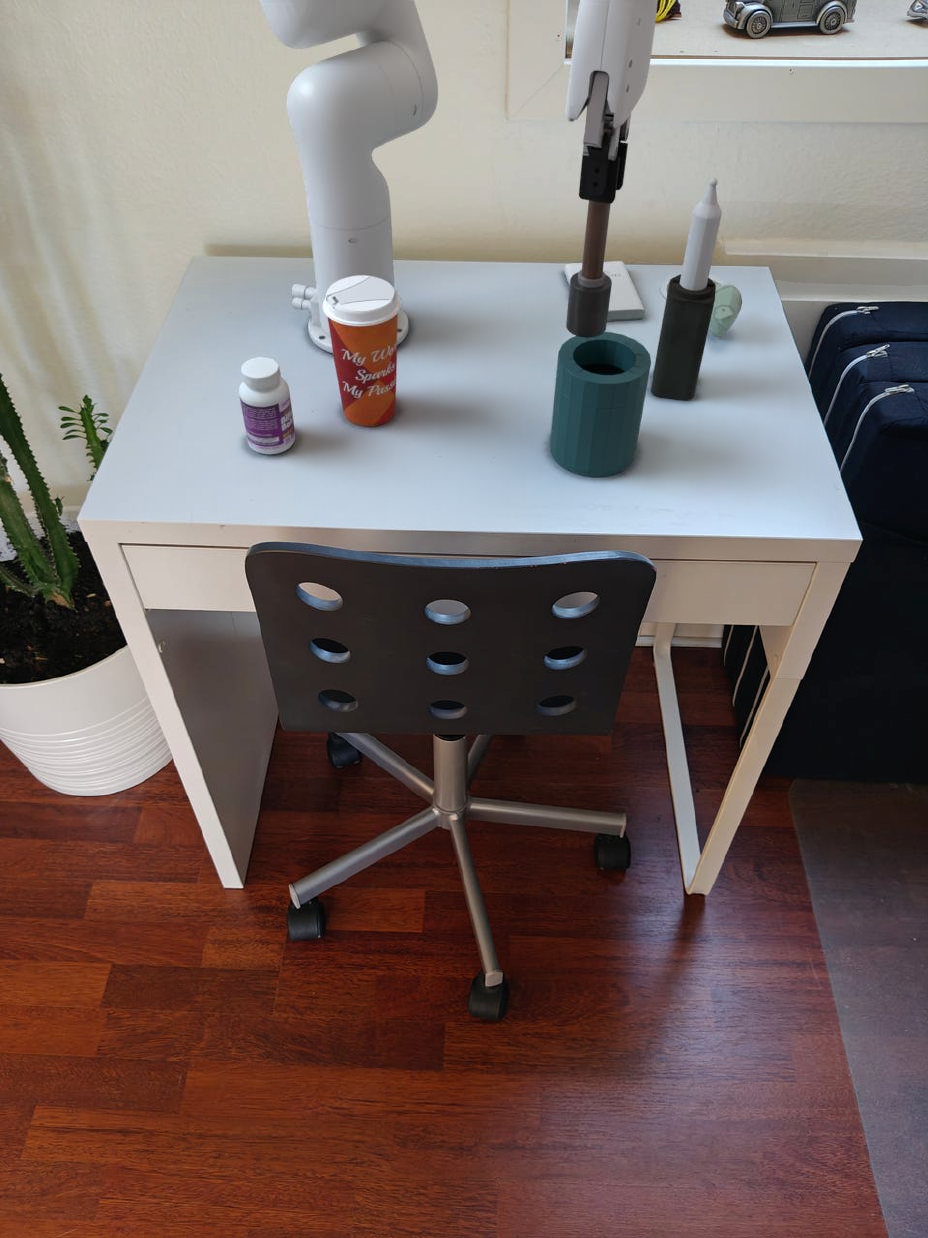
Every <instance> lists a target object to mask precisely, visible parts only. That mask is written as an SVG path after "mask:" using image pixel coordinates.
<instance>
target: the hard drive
mask: <svg viewBox="0 0 928 1238" xmlns="http://www.w3.org/2000/svg"><path fill="white" fill-rule="evenodd" d="M580 270H582V262H574V263H573V262H572V263H567V264H565V265H564V275H565V278H566V281H567V283H568V286H569V287H570V279H571V277H572V276H573V275H574V274H576V273H578V272H579V271H580ZM603 272H604V273H605V274H606V275H607V276H609V277H610V279H611V281H612V286H611V294H610V302H609V310H608V318H607V322H617V321H636V320H642V319H644V318H645V313H646V310H645V307H644V305H643V302H642V301H641V298H640V296H639V294H638V291H637V289H636V287H635V285H634V283H633V280H632V277H631V275H630V273H629V271H628V268H627V267H626V264H625V262H624V261H623V260H616V261H615V260H613V261H604V265H603Z"/></svg>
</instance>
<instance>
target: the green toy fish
mask: <svg viewBox="0 0 928 1238" xmlns="http://www.w3.org/2000/svg"><path fill="white" fill-rule="evenodd" d="M715 285H716V292H715V302H714V306H713V311H712V315H711V320H710V325H709V329H708V332H710V334H711V335H712V336H713V337H721V336H723V335H724V334H726V333H727V332H728V331H729V330H730V329H731V327H732V326H733V325H734V323H735V322H736V320H737V318H738V317H739V314H740V312H741V309H742V305H743V299H742V297H743V296H742V294H741V292H740V290H739V288H737V287H736V286H735V285H733V284H726V283H725V284H721V283H718V284H717V283H715Z"/></svg>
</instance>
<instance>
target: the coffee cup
mask: <svg viewBox="0 0 928 1238" xmlns="http://www.w3.org/2000/svg"><path fill="white" fill-rule="evenodd" d="M400 296H401V295H399V293H398V290H396V288H395V286H394V287H392V285H391V284H390V283H388V282H387V281H385V280H383V279H380V278H377V277H373V276H365V275H361V276H351V277H347V278H343V279H341V280H338V281H337V282H335V283H333V284H332V285H331V286H330V287H329V289H328V290H327V293H326V298H325V300H324V302H323V310H324V313H325V314H326V315H327V317H328V323H329V329H330V335H331V342H332V349H333V353H332V356H333V363H334V368H335V373H336V377H337V383H338V388H339V395H340V400H341V405H342V406H341V407H342V410H343V414H344V416H345V418H346V419H347V420H348V421H349V422H350V423H352V424H354V425H357V426H361V427H375V426H376V427H377V426H380V425H384V424H385V423H387V422H389V421H390V420H391V419H392V418H393V417H394V415H395V413H396V401H397V371H398V370H397V369H398V367H397V365H398V345H397V321H398V312H399V310H400V308H401V307H402V302H401V301H402V298H401V297H400Z"/></svg>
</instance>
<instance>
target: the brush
mask: <svg viewBox="0 0 928 1238" xmlns="http://www.w3.org/2000/svg"><path fill="white" fill-rule="evenodd" d="M603 132H607V133H609V137H610V134H611V130H609V129H603ZM611 204H612V203H611ZM611 204H607V203H601V202H595V201H590V200H588V204H587V213H586V214H587V215H586V226H585V232H584V233H585V234H584V243H583V244H584V245H583V251H582V252H583V254H582V262H581V263H582V270H580V271H579V272H578V273H576V274H574V275H573V276H572V277H571V279H570V286H569V287H568V288H569V290H568V298H567V299H568V300H567V310H566V311H567V312H566V319H565V320H566V321H565V327H566V331H568V332H569V333H570V334H571V335H574V336H579V337H584V338H592V337H597V336H600V335H601V334H603V333H604V332H606V330H607V326H608V325H607V324H608V321H607V318H608V310H609V302H610V294H611V286H612V281H611V279H610V277H609V276H607V275H606V274H605V273H604V272H603V265H604V262H605V254H606V247H607V238H608V229H609V224H610V223H609V221H610V215H611V213H610V212H611Z"/></svg>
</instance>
